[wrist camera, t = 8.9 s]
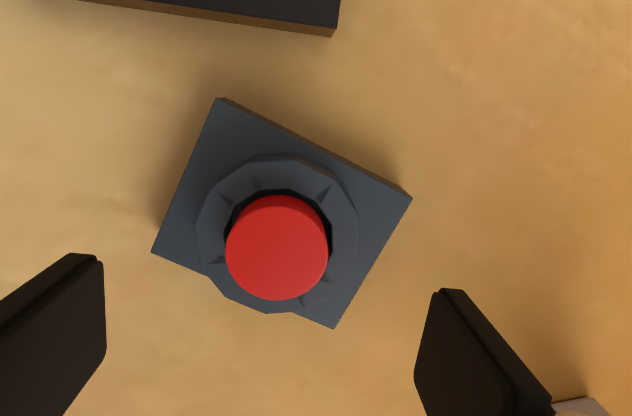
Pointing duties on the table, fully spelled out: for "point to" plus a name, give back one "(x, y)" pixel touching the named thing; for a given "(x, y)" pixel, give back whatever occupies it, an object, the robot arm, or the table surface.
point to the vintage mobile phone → (581, 407)
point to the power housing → (277, 179)
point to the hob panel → (250, 12)
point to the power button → (277, 248)
